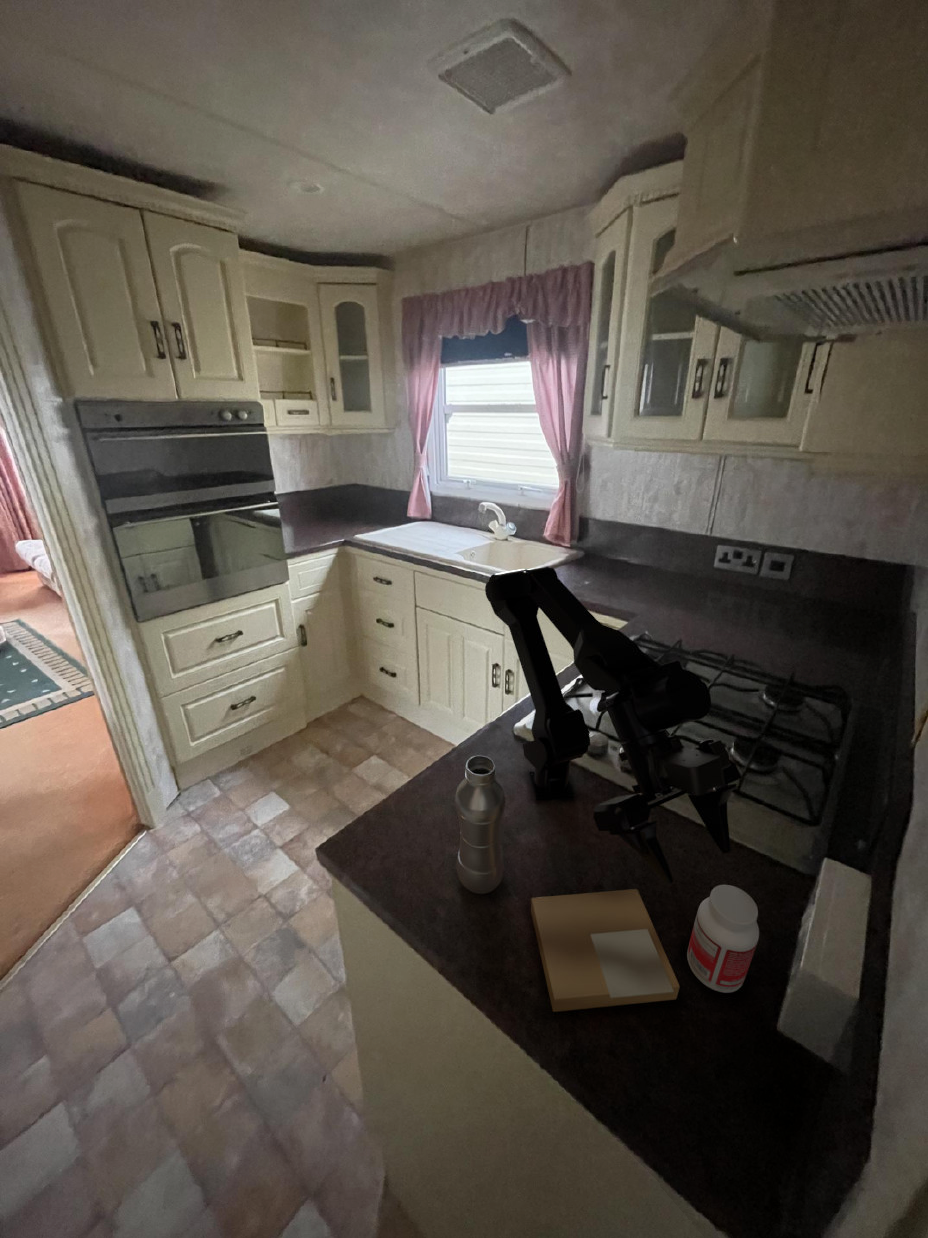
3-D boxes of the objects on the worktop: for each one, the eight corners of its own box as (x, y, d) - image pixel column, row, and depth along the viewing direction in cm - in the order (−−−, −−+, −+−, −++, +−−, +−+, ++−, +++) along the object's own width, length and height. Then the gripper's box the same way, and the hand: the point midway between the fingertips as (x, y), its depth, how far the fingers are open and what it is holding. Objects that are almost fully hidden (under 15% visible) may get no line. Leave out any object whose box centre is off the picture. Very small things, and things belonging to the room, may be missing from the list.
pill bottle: (746, 959, 61) (769, 895, 56) (739, 1006, 56) (763, 942, 52) (691, 931, 64) (708, 869, 59) (680, 975, 59) (698, 911, 55)
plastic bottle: (468, 908, 67) (467, 791, 59) (449, 868, 73) (445, 755, 64) (512, 890, 69) (517, 775, 61) (490, 852, 75) (491, 742, 67)
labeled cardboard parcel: (530, 910, 67) (531, 896, 66) (634, 901, 68) (637, 887, 67) (554, 1017, 56) (555, 1003, 54) (678, 1004, 57) (682, 990, 56)
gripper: (621, 747, 53) (688, 908, 49) (744, 702, 60) (812, 838, 56) (569, 762, 63) (621, 897, 58) (681, 721, 70) (734, 838, 66)
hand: (699, 867), depth 59 cm, fingers open, 9 cm apart
